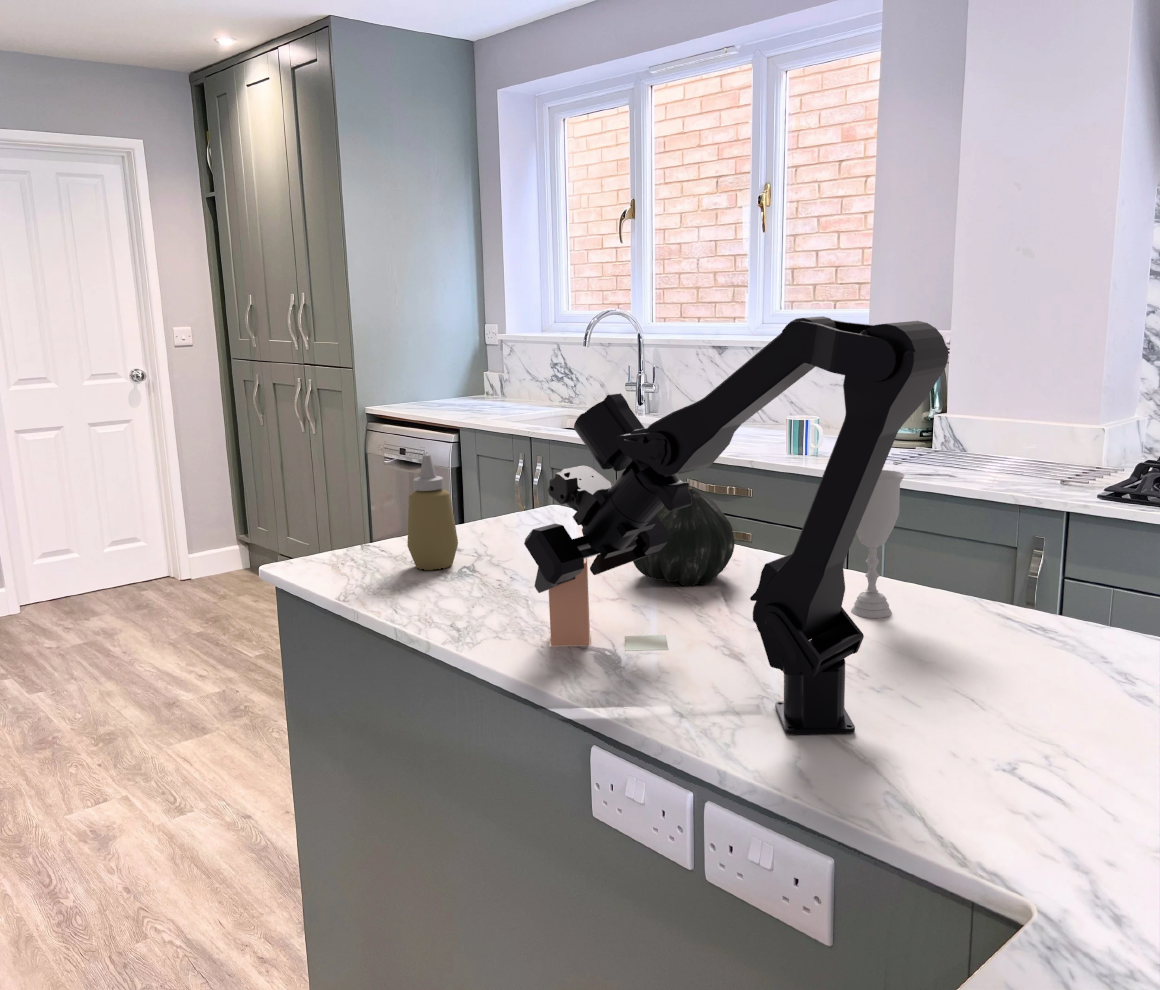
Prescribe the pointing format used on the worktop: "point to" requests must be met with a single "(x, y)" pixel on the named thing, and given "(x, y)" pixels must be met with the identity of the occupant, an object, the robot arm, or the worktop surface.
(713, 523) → the squash
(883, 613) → the chalice
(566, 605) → the terracotta block
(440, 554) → the squeeze bottle
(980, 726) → the worktop surface
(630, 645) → the walnut board
